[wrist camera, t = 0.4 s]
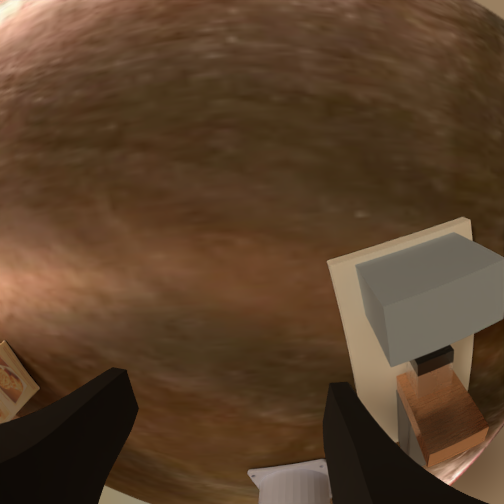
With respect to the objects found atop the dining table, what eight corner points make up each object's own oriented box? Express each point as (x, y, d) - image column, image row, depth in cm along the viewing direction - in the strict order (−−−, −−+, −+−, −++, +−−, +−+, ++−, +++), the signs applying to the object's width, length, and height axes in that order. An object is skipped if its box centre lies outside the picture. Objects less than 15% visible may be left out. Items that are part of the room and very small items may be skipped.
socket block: (458, 281, 17) (503, 318, 11) (365, 315, 18) (390, 367, 13) (453, 231, 16) (505, 258, 11) (354, 264, 17) (383, 306, 12)
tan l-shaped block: (438, 423, 20) (465, 484, 13) (398, 438, 21) (418, 504, 13) (444, 323, 17) (499, 392, 10) (393, 343, 18) (434, 424, 11)
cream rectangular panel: (459, 408, 21) (478, 442, 16) (365, 443, 23) (374, 484, 18) (462, 216, 16) (507, 234, 12) (326, 260, 18) (341, 294, 13)
